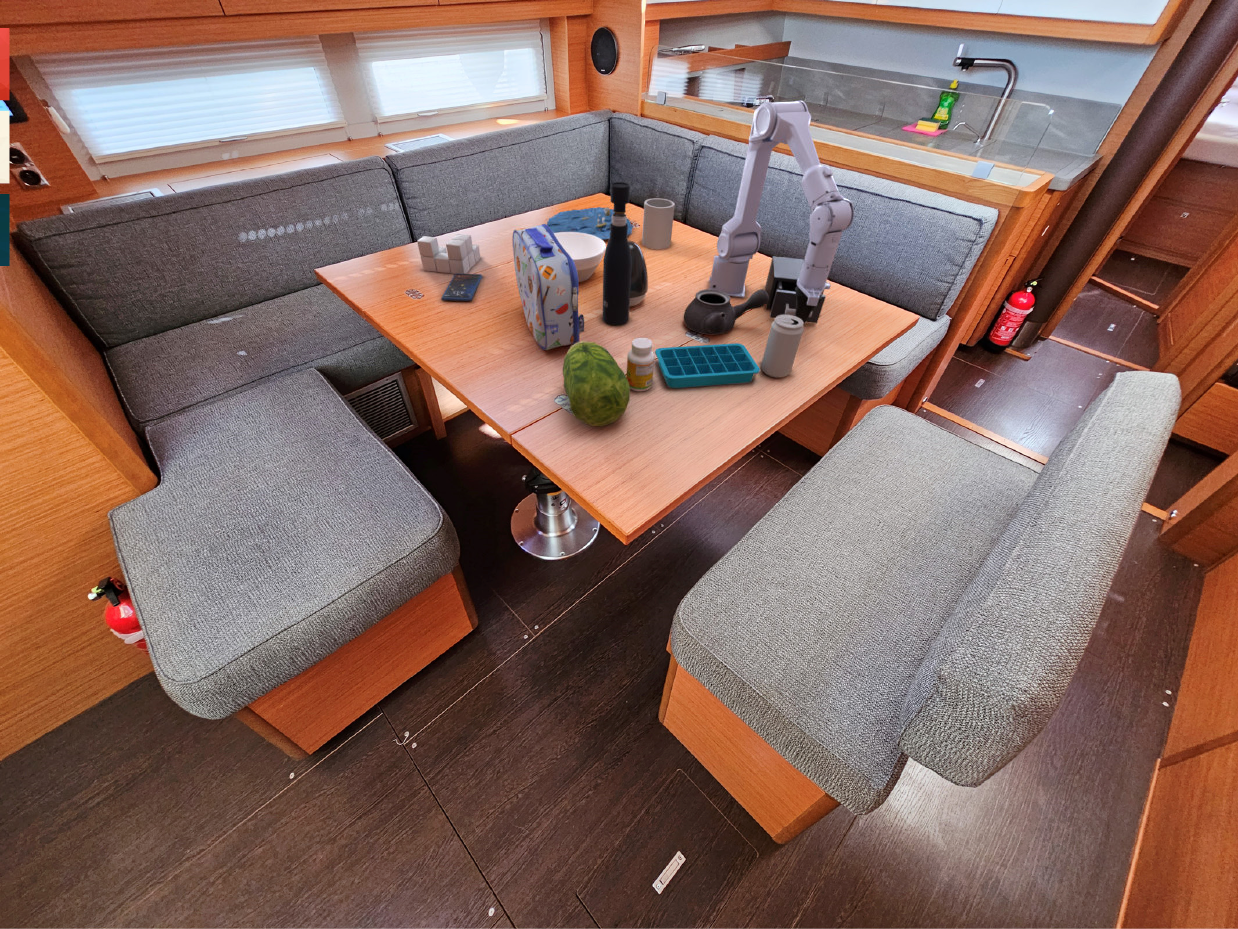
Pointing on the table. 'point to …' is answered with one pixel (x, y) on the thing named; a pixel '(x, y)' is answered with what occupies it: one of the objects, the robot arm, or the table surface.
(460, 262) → the puzzle cube
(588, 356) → the lettuce
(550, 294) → the lunch box
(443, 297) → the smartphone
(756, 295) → the teapot
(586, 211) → the blue sea diorama
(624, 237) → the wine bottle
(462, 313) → the table surface
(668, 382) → the ice cube tray
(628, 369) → the supplement bottle
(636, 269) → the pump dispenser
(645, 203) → the cup
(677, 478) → the table surface
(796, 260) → the cabinet
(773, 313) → the drawer
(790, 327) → the beverage can
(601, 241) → the bowl
